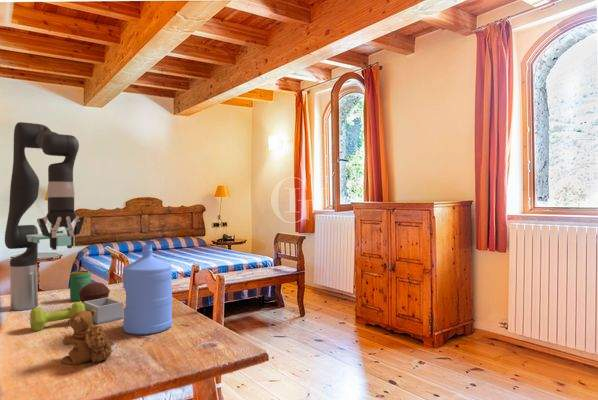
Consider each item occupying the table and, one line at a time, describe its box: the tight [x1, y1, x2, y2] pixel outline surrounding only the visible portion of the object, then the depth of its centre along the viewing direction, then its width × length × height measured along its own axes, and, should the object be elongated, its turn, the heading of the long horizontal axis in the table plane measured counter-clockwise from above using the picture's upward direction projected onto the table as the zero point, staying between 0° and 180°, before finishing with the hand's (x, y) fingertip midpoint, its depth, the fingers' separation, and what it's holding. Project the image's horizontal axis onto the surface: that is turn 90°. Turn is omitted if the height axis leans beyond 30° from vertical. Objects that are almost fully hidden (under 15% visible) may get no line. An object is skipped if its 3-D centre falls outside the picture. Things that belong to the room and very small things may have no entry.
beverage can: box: [69, 270, 92, 303], centre depth 180 cm, size 8×8×12 cm
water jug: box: [122, 244, 173, 336], centre depth 141 cm, size 16×16×28 cm
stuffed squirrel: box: [60, 310, 114, 366], centre depth 114 cm, size 10×14×13 cm
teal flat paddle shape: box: [26, 232, 71, 247], centre depth 140 cm, size 19×11×3 cm, turn 49°
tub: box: [84, 296, 124, 325], centre depth 152 cm, size 12×9×6 cm
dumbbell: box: [29, 302, 85, 332], centre depth 144 cm, size 16×8×7 cm, turn 127°
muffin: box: [79, 281, 111, 304], centre depth 166 cm, size 12×11×10 cm
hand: (61, 248), depth 135 cm, fingers closed on teal flat paddle shape, 4 cm apart
